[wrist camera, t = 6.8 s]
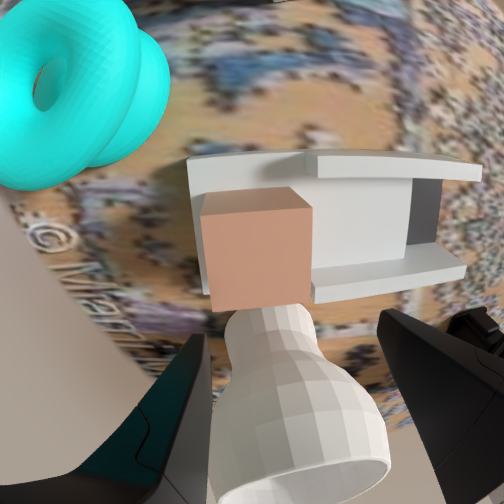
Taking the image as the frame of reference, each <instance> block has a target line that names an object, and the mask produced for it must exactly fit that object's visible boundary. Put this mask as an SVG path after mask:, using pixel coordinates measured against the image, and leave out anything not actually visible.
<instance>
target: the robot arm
mask: <svg viewBox="0 0 504 504" xmlns="http://www.w3.org/2000/svg"><path fill="white" fill-rule="evenodd" d="M486 312H487V308H486V307H485V306H484V307H481V308H478V309H475V310H472V311H469V312H465V313H462V314H459V315H456V316H454V317H453V318H452V320H451V323H450V326H449V329H448V331H447V333H445V332H443V331H441V330H439V329H436V328H434V327H432V326H430V325H428V324H426V323H424V322H421V321H419V320H417V319H415V318H413V317H411V316H409V315H406V314H404V313H402V312H400V311H398V310H396V309H393V308H390V309H385V310H382V311H381V313H380V317H379V321H378V326H377V337H378V339H379V342H380V345H381V347H382V350H383V353H384V356H385V358H386V361H387V364H388V367H389V369H390V372H391V374H392V376H393V378H394V380H395V382H396V385H397V387H398V389H399V391H400V393H401V395H402V397H403V399H404V401H405V404H406V406H407V408H408V410H409V412H410V415H411V417H412V419H413V421H414V423H415V426H416V428H417V430H418V433H419V435H420V437H421V440H422V442H423V444H424V446H425V449H426V451H427V454H428V456H429V459H430V461H431V463H432V466H433V469H434V472H435V474H436V477H437V479H438V482H439V485H440V487H441V490H442V493H443V495H444V498H445V501H446V504H476V503H478V502H479V501H480V500H482V499H483V498H485V497H486V496H488V495H489V497H490V499H491V501H492V503H493V504H504V334H503V333H502V332H501V331H500V330H499V328H500V327H499V325H498V324H497V323H496V322H495V321H494V320H493V319H492V318H491V317H490V316H489V315H487V314H486ZM212 404H213V395H212V376H211V357H210V351H209V346H208V341H207V336H206V334H205V333H199V334H192V335H191V337H190V338H189V339H188V340H187V342H186V343H185V344H184V345H183V347H182V348H181V349H180V351H179V352H178V353H177V354H176V356H175V357H174V358H173V360H172V361H171V362H170V363H169V365H168V366H167V367H166V369H165V370H164V371H163V372H162V374H161V375H160V376H159V378H158V379H157V380H156V381H155V383H154V384H153V385H152V386H151V388H150V389H149V390H148V392H147V393H146V394H145V395H144V397H143V398H142V399H141V401H140V402H139V403H138V405H137V406H136V407H135V408H134V409H133V411H132V412H131V413H130V414H129V416H128V417H127V418H126V419H125V420H124V422H123V423H122V424H121V425H120V426H119V427H118V428H117V430H116V431H115V432H114V433H113V434H112V435H111V436H110V437H109V438H108V439H107V440H106V441H105V442H104V443H103V444H102V445H101V446H100V447H99V448H98V449H97V450H96V451H95V452H93V454H91V455H90V456H89V457H88V458H87V459H86V460H85V461H84V462H83V463H82V464H81V465H80V466H79V467H77V468H76V469H74V470H73V471H71V472H69V473H67V474H64V475H61V476H57V477H52V478H48V479H43V480H37V481H32V482H26V483H19V484H13V485H0V504H206V495H207V478H208V461H209V446H210V432H211V418H212Z"/></svg>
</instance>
